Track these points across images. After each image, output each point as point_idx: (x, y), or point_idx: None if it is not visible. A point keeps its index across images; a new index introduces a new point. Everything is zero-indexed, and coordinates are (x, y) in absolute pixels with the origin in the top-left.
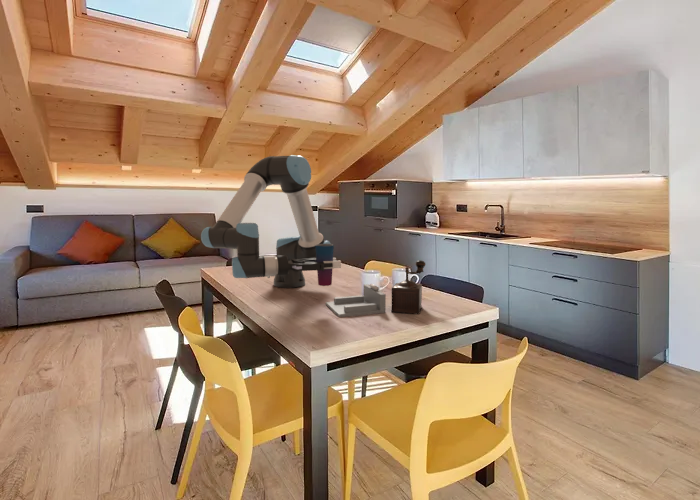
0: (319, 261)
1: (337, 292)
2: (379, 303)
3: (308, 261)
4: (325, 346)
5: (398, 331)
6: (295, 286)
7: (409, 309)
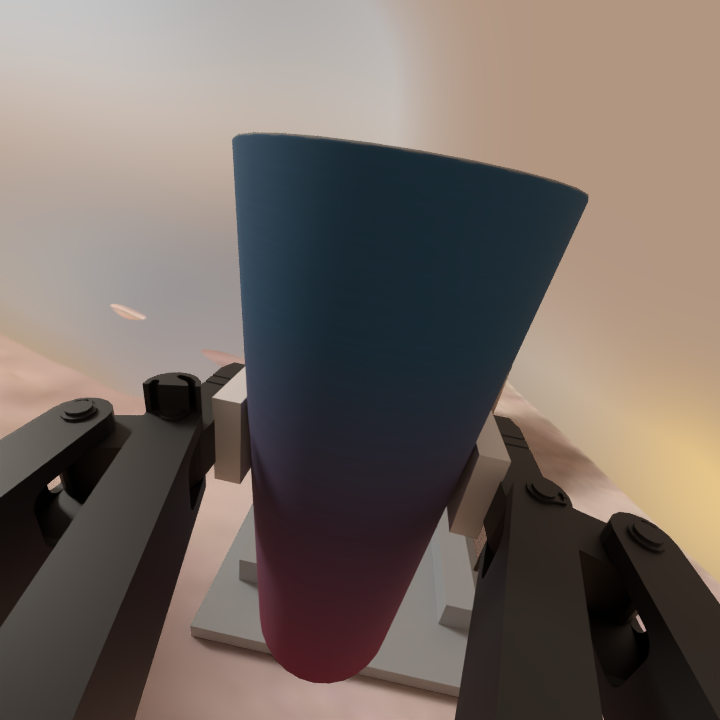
0: (431, 485)
1: None
2: None
3: (131, 614)
4: None
5: (693, 559)
6: None
7: None
